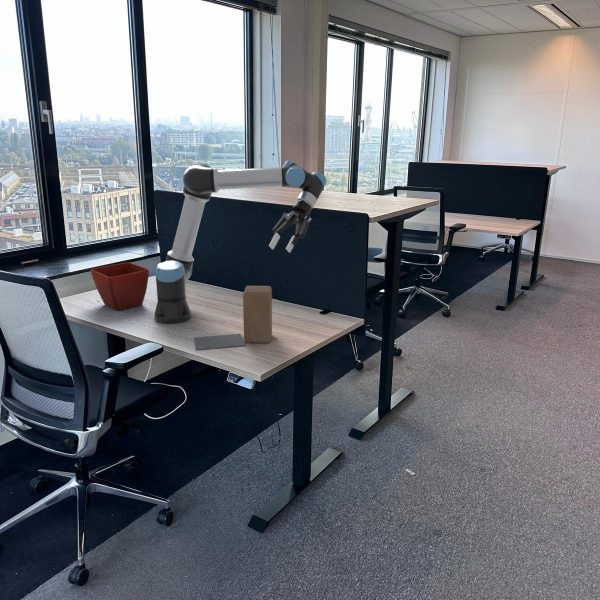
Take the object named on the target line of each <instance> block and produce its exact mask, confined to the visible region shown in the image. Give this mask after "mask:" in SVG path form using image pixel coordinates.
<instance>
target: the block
mask: <svg viewBox="0 0 600 600" xmlns="http://www.w3.org/2000/svg"><path fill="white" fill-rule="evenodd" d="M272 290H273V289H272V287H271V286H270V285H246V286H245V288H244V291H243V293H242V304H243V305H242V308H243V309H242V310H243V311H242V313H243V314H242V315H243V341H244V343H245V344H246V343H248V344H249V343H251V344H252V343H255V344H258V343H259V344H260V343H261V344H262V343H263V344H269V343H270V342H271V340H272V336H273V300H272V299H273V292H272Z"/></svg>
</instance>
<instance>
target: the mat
mask: <svg viewBox="0 0 600 600" xmlns="http://www.w3.org/2000/svg"><path fill="white" fill-rule="evenodd" d="M194 341H195V342H194ZM193 342H194V346H195V351H204V350H214V349H215V350H216V349H227V348H237V347H246V342H245V341H244V337H243V336H242V333H232V334H231V333H230V334H220V335H219V334H218V335H207V336H197V337H193Z"/></svg>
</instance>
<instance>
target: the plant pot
mask: <svg viewBox="0 0 600 600" xmlns="http://www.w3.org/2000/svg"><path fill="white" fill-rule="evenodd" d="M90 273H91V276H92V277H91V278H92V279H93V282H94V285H95V288H96V289H97V292H98V294H99V297H100V298H101V301H102V302H103V305H105V306H106V307H108V306H109V307H108V308H111V309H113V310H115V311H122V310H126V309H129V308H134V307H137V306H142V305H143V304H144V300H145V297H146V294H147V288H148V282H149V274H150V270H149V268H146V267H143V266H140V265H138V264H136V263H132V262H131V261H130V262H122V263H116V264H112V265H105V266H102V267H101V266H100V267H95V268H91V269H90Z"/></svg>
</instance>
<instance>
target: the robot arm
mask: <svg viewBox="0 0 600 600" xmlns="http://www.w3.org/2000/svg"><path fill="white" fill-rule="evenodd" d="M182 176H183V177H182V182H183V185H184V186H183V190H182V193H183V195H184V200H183V206H182V209H181V214H180V216H179V217H180V218H179V221H178V225H177V228H176V233H175V237H174V240H173V245H172V249H171V250H169V251H168V252H167V253H166V254H167V255H166V258H165V261H163V262H160V263H158V264H156V267H155V272H154V274H155V284H156V296H157V304H156V307H155V311H154V320H155V321H156V320H157V321H159V322H158V323H160V322H164V323H163V324H179V323H183V322H187V321H189V320H191V318H192V311H191V308H190V306H189V303H188V301H187V294H186V293H187V292H186V291H187V290H186V283H187V282H188V281H189V280H190V278H191V276H192V273H193V265H194V261H195V259H194V257H193V255H192V254H193V250H194V248H195V244H196V239H197V236H198V232H199V229H200V228H199V227H200V224H201V220H202V217H203V212H204V210H205V209H204V208H205V206H206V203H207V202H209V201H210V200H211V197H212V194H213V193H218V192H219V191H220V190H236V189H238V190H239V189H241V190H242V189H257V188H258V189H259V188H262V189H263V188H278V187H279V188H280V187H292V188H299V189H301V191H300V194H299V195H298V197H297V199H296V200H295V203H294V204H293V205H292V208H291V209H292V210H291V211H290V212H289V213H287V212H283V214H282V216H281V218H280V219H278V221H277V223H276V224H275V225H274V227H273V228H272V229H271V231H272V232H273V235H272V237H271V241H270V243H269V244H268V246H269V248H270V249H271V250H274V249H275V247H276V246H277V244H278V242H279V240H280V238H281V236H280V235H282V234H283V233H284V232H285V231H286V230H287V229H289V227H291V226H293V225H295V232H294V235H292V236H291V238H290V240H289V242H288V244H287V245H286V247H285V250H286V251H287V252H288V253H289V254H291V252H292V250H293V249H294V246H296V245H297V243H298V242H299V240H300V239H305V237H306V235H307V232H308V229H309V226H310V224H311V222H312V221H313V219H312V218H311V216H310V214H311V213H312V210H313V208H314V206H315V204H316V203H317V201H318V200H319V198H320V196H321V195H322V192H323V191H324V189H325V187H326V184H327V182H328V180H327V177H326V175H324V174H323V173H321V172H319V171H313V172H312V173H311V172H308V171H307V170H306V169H304V168H302V166H300V165H299V164H297V163H296V162H295V161H292V160H290V159H287V160H286V161H285V162H284V164H283V165H282V167H260V168H259V167H258V168H257V167H256V168H237V169H236V168H235V169H234V168H233V169H218V168H217V167H211V166H210V165H208V164H206V163H201V162H200V163H199V162H198V163H195V164H194V165H191V166H189V167H188V168H187V169H186V170H185V171H184V173H183V175H182ZM157 321H156V322H157ZM178 322H179V323H178Z"/></svg>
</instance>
